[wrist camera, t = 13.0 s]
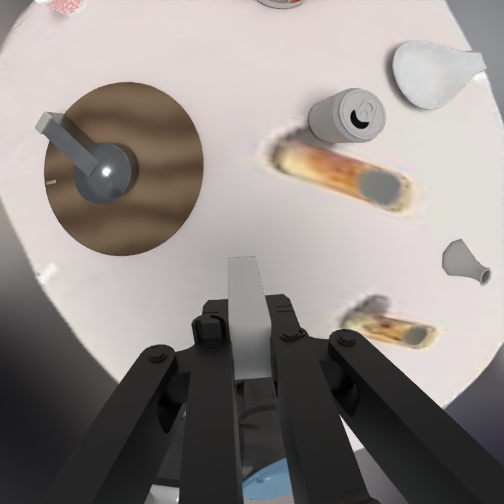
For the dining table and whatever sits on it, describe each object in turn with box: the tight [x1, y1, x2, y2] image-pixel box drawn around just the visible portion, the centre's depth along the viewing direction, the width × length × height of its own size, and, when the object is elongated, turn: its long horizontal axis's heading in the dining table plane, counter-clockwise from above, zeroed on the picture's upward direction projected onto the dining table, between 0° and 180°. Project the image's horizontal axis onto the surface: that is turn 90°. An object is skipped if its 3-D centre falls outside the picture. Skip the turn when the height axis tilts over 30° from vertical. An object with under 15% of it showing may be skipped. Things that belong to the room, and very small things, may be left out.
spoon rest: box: [392, 41, 487, 110], centre depth 32 cm, size 24×12×7 cm, turn 118°
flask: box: [443, 239, 491, 286], centre depth 43 cm, size 7×7×10 cm
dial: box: [35, 112, 139, 205], centre depth 33 cm, size 17×8×6 cm, turn 46°
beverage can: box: [309, 88, 386, 143], centre depth 33 cm, size 6×6×12 cm
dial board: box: [44, 82, 203, 256], centre depth 38 cm, size 26×26×1 cm
